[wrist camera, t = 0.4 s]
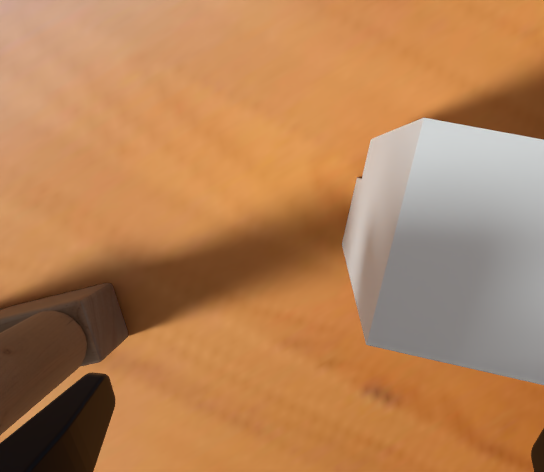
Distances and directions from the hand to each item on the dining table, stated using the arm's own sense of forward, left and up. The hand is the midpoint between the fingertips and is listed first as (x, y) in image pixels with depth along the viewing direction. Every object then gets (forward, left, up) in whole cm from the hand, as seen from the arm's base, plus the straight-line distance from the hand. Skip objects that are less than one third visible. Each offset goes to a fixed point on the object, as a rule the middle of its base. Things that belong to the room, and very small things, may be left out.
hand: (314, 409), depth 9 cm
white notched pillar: (+5, -2, -15) cm, 16 cm away
